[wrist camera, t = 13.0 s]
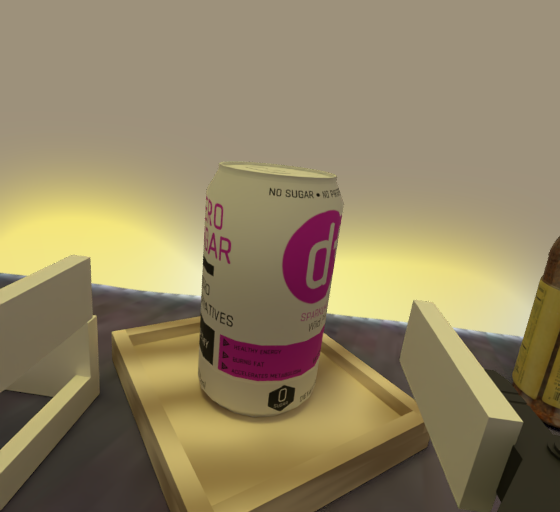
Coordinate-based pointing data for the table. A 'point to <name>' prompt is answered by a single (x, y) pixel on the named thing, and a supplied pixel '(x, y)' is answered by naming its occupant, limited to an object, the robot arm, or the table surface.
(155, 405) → the tray
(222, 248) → the supplement can
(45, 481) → the table surface
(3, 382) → the robot arm
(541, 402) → the sauce bottle
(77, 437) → the table surface
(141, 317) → the table surface
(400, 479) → the table surface
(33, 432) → the dock
